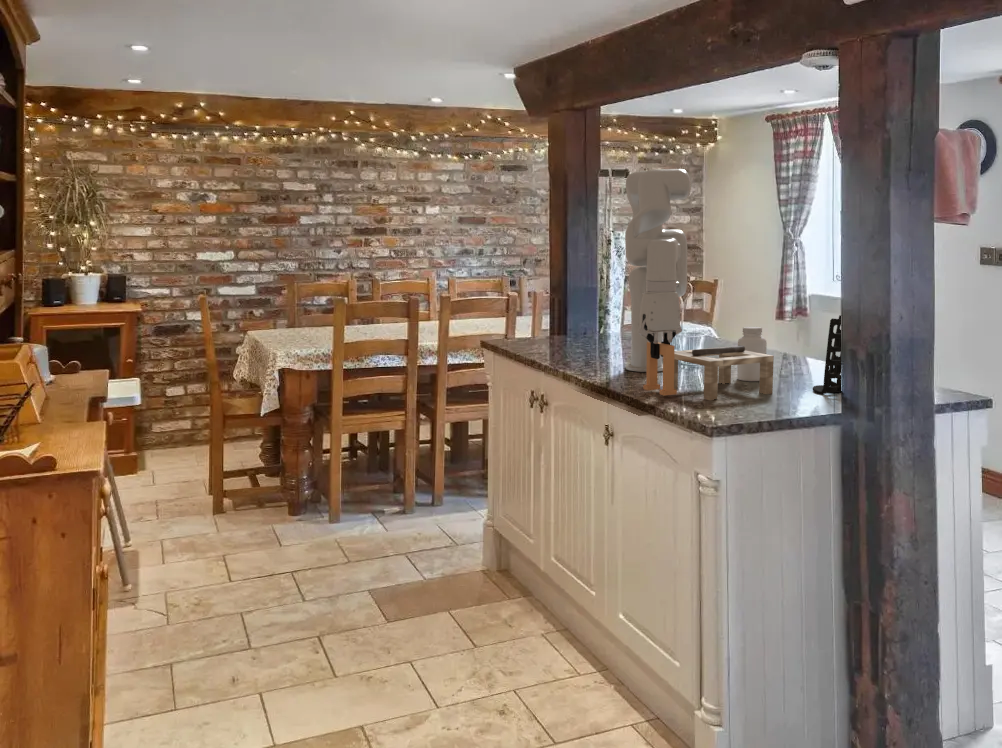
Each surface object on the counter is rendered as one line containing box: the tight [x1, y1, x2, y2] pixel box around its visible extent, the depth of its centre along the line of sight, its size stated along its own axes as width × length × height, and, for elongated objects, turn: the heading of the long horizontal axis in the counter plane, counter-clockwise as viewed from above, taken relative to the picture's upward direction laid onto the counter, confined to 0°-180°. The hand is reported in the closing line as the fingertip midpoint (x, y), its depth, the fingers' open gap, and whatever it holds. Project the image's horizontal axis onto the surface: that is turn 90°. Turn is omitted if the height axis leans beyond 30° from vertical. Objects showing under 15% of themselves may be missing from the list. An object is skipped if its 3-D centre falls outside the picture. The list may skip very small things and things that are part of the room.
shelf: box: [674, 345, 774, 401], centre depth 249 cm, size 20×20×12 cm
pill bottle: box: [736, 326, 767, 382], centre depth 265 cm, size 8×8×15 cm
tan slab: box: [642, 342, 678, 397], centre depth 244 cm, size 4×10×13 cm, turn 23°
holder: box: [812, 314, 842, 396], centre depth 244 cm, size 11×8×20 cm
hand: (660, 357), depth 244 cm, fingers closed on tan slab, 2 cm apart
